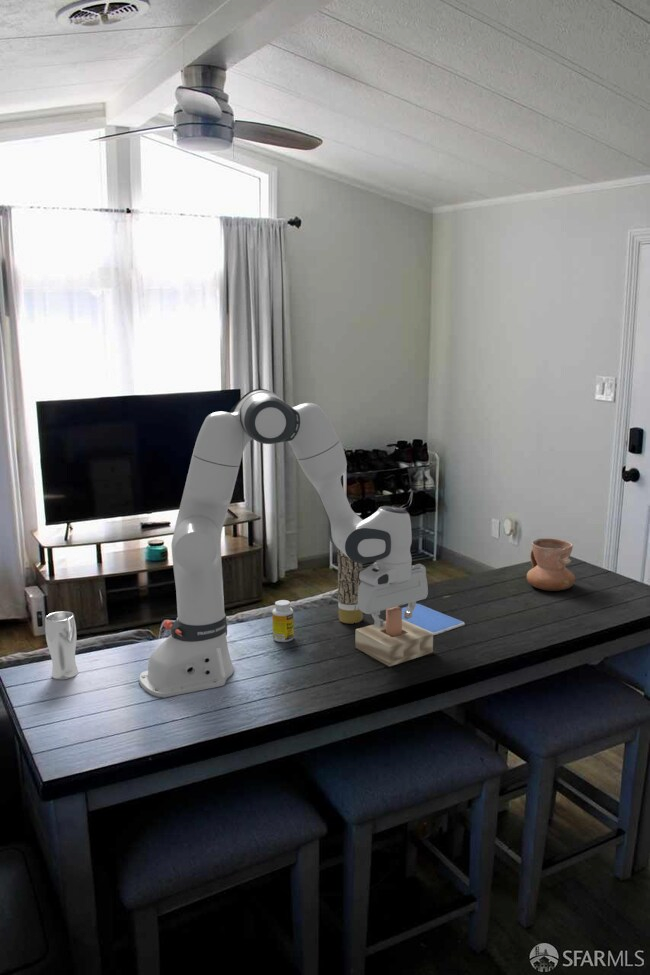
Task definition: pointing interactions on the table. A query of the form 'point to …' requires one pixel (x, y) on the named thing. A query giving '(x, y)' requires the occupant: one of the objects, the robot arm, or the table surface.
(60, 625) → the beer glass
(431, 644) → the socket block
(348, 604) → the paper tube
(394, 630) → the dowel
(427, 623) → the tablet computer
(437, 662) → the table surface
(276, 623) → the supplement bottle
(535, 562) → the ceramic jug
